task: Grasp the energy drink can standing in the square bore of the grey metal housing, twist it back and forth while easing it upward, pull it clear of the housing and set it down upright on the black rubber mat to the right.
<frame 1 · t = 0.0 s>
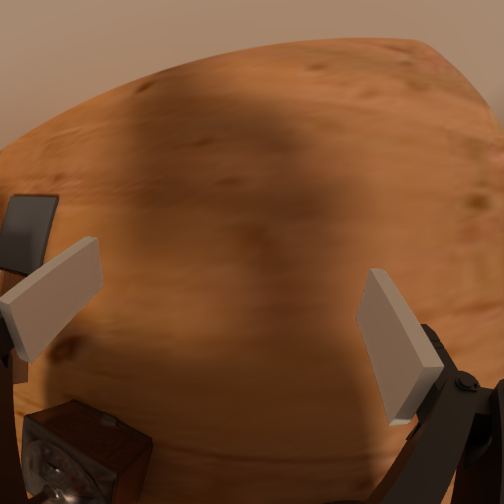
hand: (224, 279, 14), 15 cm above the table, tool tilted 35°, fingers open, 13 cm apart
brown manual coffee grinder: (87, 440, 25), on the table
mat: (23, 233, 31), on the table
housing: (0, 320, 28), on the table
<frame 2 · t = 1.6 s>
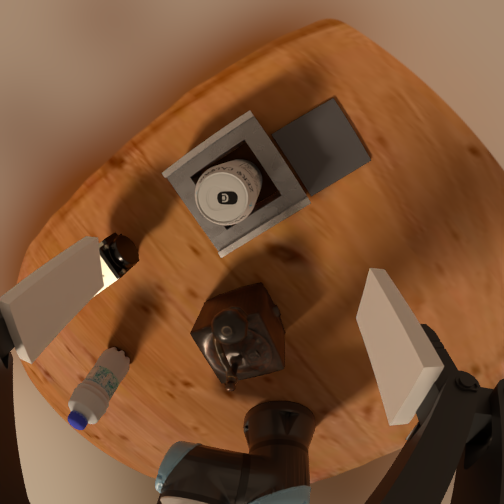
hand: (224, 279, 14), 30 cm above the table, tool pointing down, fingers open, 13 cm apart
bottle: (119, 355, 55), on the table
brown manual coffee grinder: (240, 303, 48), on the table
mat: (322, 146, 39), on the table
housing: (240, 180, 41), on the table
energy drink can: (241, 180, 41), resting in housing
pneumatic valve: (123, 248, 46), on the table
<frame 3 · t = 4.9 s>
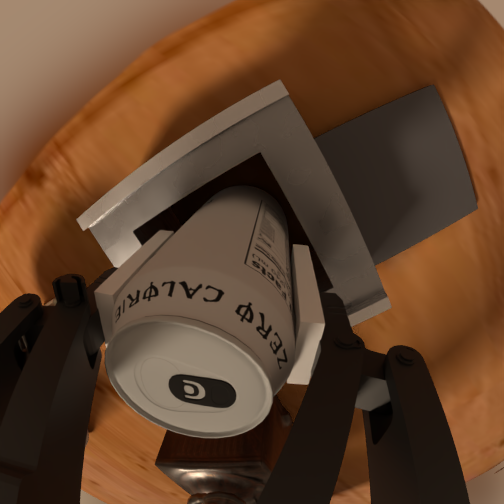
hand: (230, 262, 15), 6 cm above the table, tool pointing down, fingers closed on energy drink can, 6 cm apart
brown manual coffee grinder: (233, 403, 29), on the table
mat: (405, 173, 19), on the table
housing: (244, 225, 21), on the table
energy drink can: (244, 224, 21), resting in housing, touching gripper
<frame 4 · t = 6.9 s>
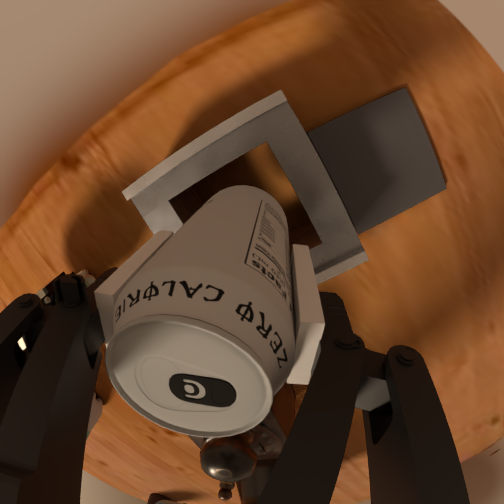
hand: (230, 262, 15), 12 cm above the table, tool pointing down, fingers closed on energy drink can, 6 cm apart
bottle: (90, 395, 41), on the table
brown manual coffee grinder: (240, 363, 34), on the table
mat: (382, 159, 24), on the table
housing: (252, 201, 26), on the table
vinegar: (161, 497, 60), on the table
energy drink can: (244, 224, 21), point 6 cm above the table, touching gripper
pneumatic valve: (84, 280, 32), on the table
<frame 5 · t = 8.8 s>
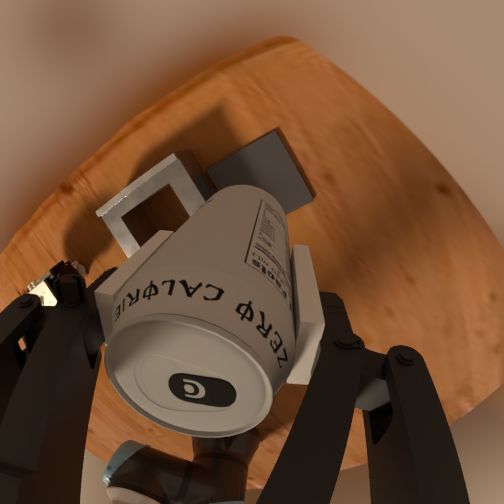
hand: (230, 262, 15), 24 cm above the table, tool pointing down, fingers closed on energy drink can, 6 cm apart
mat: (260, 183, 38), on the table
housing: (176, 215, 40), on the table
energy drink can: (244, 223, 21), point 18 cm above the table, touching gripper
pneumatic valve: (76, 268, 46), on the table
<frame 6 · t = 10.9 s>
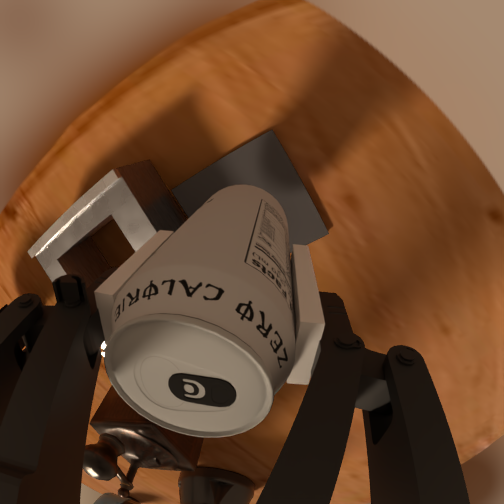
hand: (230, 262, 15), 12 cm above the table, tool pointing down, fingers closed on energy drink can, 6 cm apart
brown manual coffee grinder: (155, 385, 36), on the table
mat: (250, 209, 26), on the table
housing: (136, 251, 29), on the table
vinegar: (128, 498, 61), on the table
energy drink can: (244, 223, 21), point 5 cm above the table, touching gripper
when the fingers open (8 cm above the table, at t = 12.5 s): energy drink can stays where it is, resting on mat.
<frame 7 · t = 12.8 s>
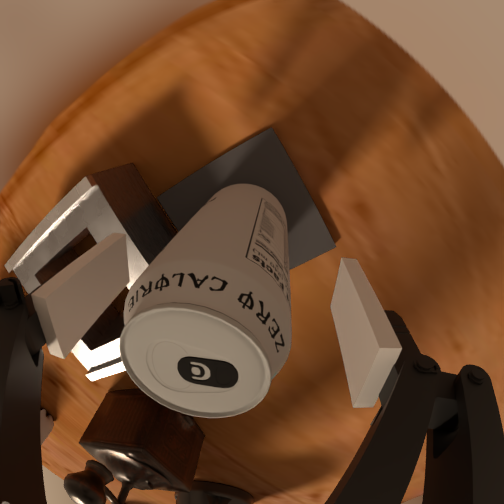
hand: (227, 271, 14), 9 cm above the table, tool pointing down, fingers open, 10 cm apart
bottle: (43, 411, 40), on the table
brown manual coffee grinder: (147, 402, 33), on the table
mat: (246, 218, 23), on the table
housing: (120, 264, 25), on the table
energy drink can: (245, 220, 22), resting on mat
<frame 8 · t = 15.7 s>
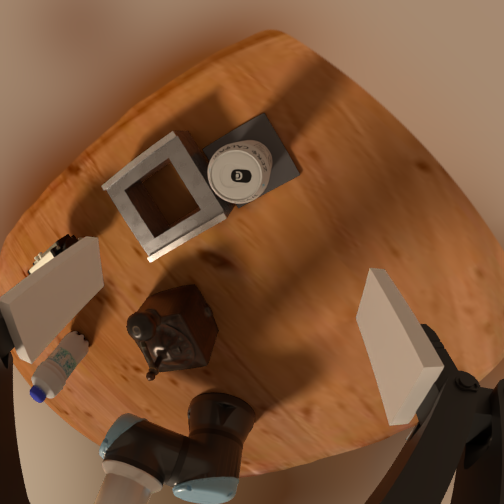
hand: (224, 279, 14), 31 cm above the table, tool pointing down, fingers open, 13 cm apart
bottle: (80, 339, 58), on the table
brown manual coffee grinder: (178, 301, 51), on the table
mat: (251, 160, 41), on the table
housing: (175, 190, 44), on the table
energy drink can: (250, 161, 41), resting on mat
pneumatic valve: (80, 245, 49), on the table
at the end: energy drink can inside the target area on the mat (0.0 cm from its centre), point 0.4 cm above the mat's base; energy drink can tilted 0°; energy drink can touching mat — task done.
